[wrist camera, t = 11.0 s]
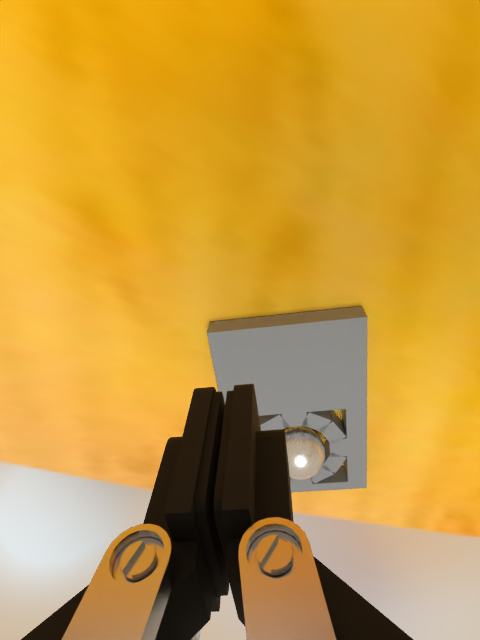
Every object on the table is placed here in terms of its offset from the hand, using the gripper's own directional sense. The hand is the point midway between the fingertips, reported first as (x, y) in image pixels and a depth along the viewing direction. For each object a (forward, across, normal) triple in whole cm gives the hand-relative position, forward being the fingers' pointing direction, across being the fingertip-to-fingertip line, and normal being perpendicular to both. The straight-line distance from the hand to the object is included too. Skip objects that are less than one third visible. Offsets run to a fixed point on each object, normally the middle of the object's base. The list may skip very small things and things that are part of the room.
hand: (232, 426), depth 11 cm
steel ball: (+26, -2, +28) cm, 38 cm away
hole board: (+29, -2, +23) cm, 37 cm away
